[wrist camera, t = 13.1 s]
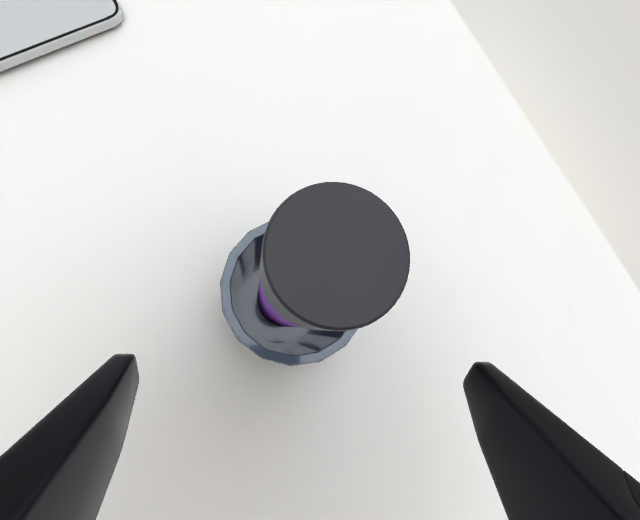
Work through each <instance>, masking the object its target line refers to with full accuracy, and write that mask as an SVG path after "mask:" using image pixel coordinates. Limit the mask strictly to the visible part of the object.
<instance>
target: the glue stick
mask: <svg viewBox="0 0 640 520" xmlns="http://www.w3.org/2000/svg"><path fill="white" fill-rule="evenodd" d="M409 267H410V251H409V245H408V241H407V237H406V234H405V231H404V229H403V227H402V225H401V223H400V221H399V219H398V218H397V216H396V215H395V214H394V212H393V211H392V210H391V209H390V207H389V206H388V205H387V204H386V203H385V202H383V201H382V200H381V199H380V198H379V197H377V196H376V195H374V194H373V193H371V192H369V191H367V190H365V189H363V188H361V187H358V186H355V185H352V184H347V183H340V182H325V183H319V184H314V185H311V186H308V187H305V188H303V189H301V190H299V191H297V192H295V193H294V194H292V195H291V196H289V197H288V198H287V199H286V200H285V201H284V202H283V203H282V204H281V205H280V206H279V207H278V208H277V209H276V211H275V212H274V214H273V215H272V217H271V219H270V221H269V223H268V225H267V228H266V231H265V234H264V238H263V244H262V252H261V260H260V281H259V288H258V295H257V301H258V306H259V309H260V311H261V313H262V314H263V316H264V317H265V318H266V319H267V320H268V321H269V322H271V323H273V324H275V325H278V326H282V327H303V328H307V329H313V330H327V331H348V330H354V329H358V328H362V327H364V326H367V325H369V324H372V323H373V322H375V321H377V320H378V319H380V318H381V317H382V316H384V315H385V314H386V313H387V312H388V311H389V310H390V309H391V308H392V307H393V306H394V305H395V303H396V302H397V300H398V299H399V298H400V296H401V294H402V292H403V290H404V287H405V285H406V282H407V278H408V274H409Z"/></svg>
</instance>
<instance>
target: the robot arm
mask: <svg viewBox="0 0 640 520" xmlns="http://www.w3.org/2000/svg"><path fill="white" fill-rule="evenodd" d="M138 384H139V373H138V368H137V362H136V358H135V356H134V355H133V354H116V355H114V356H112V357H111V358H110V359H109V360H108V361H107V362H106V363H104V364H103V365H102V366H101V367H100V368H99V369H98V370H97V371H95V372H94V373H93V374H92V375H91V376H90V377H89V378H88V379H87V380H85V381H84V382H83V383H82V384H81V385H80V386H79V387H78V388H76V389H75V390H74V391H73V392H72V393H71V394H70V395H69V396H67V397H66V398H65V399H64V400H63V401H62V402H61V403H60V404H59V405H57V406H56V407H55V408H54V409H53V410H52V411H51V412H50V413H48V414H47V415H46V416H45V417H44V418H43V419H42V420H41V421H39V422H38V423H37V424H36V425H35V426H34V427H33V428H32V429H31V430H29V431H28V432H27V433H26V434H25V435H24V436H23V437H22V438H20V439H19V440H18V441H17V442H16V443H15V444H14V445H13V446H12V447H10V448H9V449H8V450H7V451H6V452H5V453H4V454H3V455H1V456H0V520H96V517H97V515H98V512H99V509H100V507H101V504H102V501H103V499H104V496H105V493H106V491H107V488H108V485H109V483H110V480H111V477H112V475H113V472H114V469H115V467H116V464H117V461H118V459H119V456H120V453H121V450H122V447H123V443H124V439H125V436H126V432H127V428H128V424H129V420H130V416H131V412H132V408H133V404H134V400H135V396H136V392H137V389H138ZM463 387H464V391H465V395H466V399H467V402H468V406H469V409H470V413H471V417H472V420H473V424H474V427H475V431H476V434H477V437H478V441H479V444H480V446H481V449H482V452H483V454H484V457H485V460H486V462H487V465H488V467H489V470H490V473H491V475H492V478H493V480H494V483H495V486H496V488H497V491H498V493H499V496H500V499H501V501H502V504H503V506H504V509H505V512H506V514H507V517H508V519H509V520H640V483H639V482H638V481H637V480H635V479H634V478H633V477H632V476H630V475H629V474H628V473H627V472H625V471H622V469H621V468H620V467H619V466H618V465H617V464H615V463H614V462H613V461H612V460H611V459H609V458H608V457H607V456H606V455H604V454H603V453H602V452H601V451H599V450H598V449H597V448H596V447H594V446H593V445H592V444H591V443H589V442H588V441H587V440H586V439H584V438H583V437H582V436H581V435H579V434H578V433H577V432H576V431H575V430H573V429H572V428H571V427H570V426H568V425H567V424H566V423H565V422H563V421H562V420H561V419H560V418H558V417H557V416H556V415H555V414H553V413H552V412H551V411H550V410H548V409H547V408H546V407H545V406H544V405H542V404H541V403H540V402H539V401H537V400H536V399H535V398H534V397H532V396H531V395H530V394H529V393H527V392H526V391H525V390H524V389H522V388H521V387H520V386H519V385H517V384H516V383H515V382H514V381H513V380H511V379H510V378H509V377H508V376H506V375H505V374H504V373H503V372H501V371H500V370H499V369H498V368H496V367H495V366H494V365H493V364H491V363H489V362H475V363H474V364H473V365H472V367H471V369H470V370H469V372H468V374H467V375H466V377H465V379H464V382H463Z"/></svg>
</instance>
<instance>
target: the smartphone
mask: <svg viewBox="0 0 640 520" xmlns="http://www.w3.org/2000/svg"><path fill="white" fill-rule="evenodd" d="M122 19H123V12H122V9H121V6H120V4H119V2H118V0H0V72H1V71H4V70H6V69H9V68H11V67H14V66H16V65H19V64H21V63H24V62H27V61H29V60H32V59H34V58H37V57H39V56H42V55H44V54H47V53H49V52H52V51H55V50H57V49H60V48H62V47H65V46H67V45H70V44H72V43H75V42H77V41H80V40H82V39H85V38H88V37H90V36H93V35H95V34H98V33H100V32H103V31H105V30H108V29H110V28H113V27H115V26H117V25H118V24H120V23H121V21H122Z"/></svg>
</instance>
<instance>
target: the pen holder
mask: <svg viewBox="0 0 640 520" xmlns="http://www.w3.org/2000/svg"><path fill="white" fill-rule="evenodd" d="M268 223H269V222H267V223H265V224H263V225H261V226H259V227H257V228H255V229H253V230H251V231H250V232H248V233H247V234H246V235H245V237H244V238H243V239H242V240H241V241H240V242H239V243H238V244H237V246H236V247H235V248H234V249H233V250H232V251H231V252H230V254H229V257H228V260H227V263H226V266H225V269H224V272H223V275H222V278H221V282H220V286H221V299H222V311H223V314H224V316H225V317H226V319H227V321H228V323H229V325H230V327H231V329H232V331H233V332H234V334H235V336H236V338H237V339H238V340H239V341H240V342H241V343H243V344H244V345H245V346H246V347H248V348H249V349H250V350H251V351H253V352H254V353H255V354H256V355H258V356H259V357H260V358H262V359H266V360H269V361H273V362H277V363H281V364H285V365H289V366H295V365H301V364H308V363H314V362H320V361H322V360H324V359H325V358H327V357H329V356H330V355H332V354H333V353H335V352H337V351H338V350H340V349H341V348H343V347H345V345H347V343H348V342H349V340H350V339H351V338H352V336H353V335H354V333H355V332H356V331H357V329H354V330H348V331H327V330H313V329H307V328H303V327H282V326H278V325H275V324H273V323H271V322H269V321H268V320H267V319H266V318H265V317H264V316H263V314H262V313H261V311H260V309H259V306H258V301H257V295H258V288H259V281H260V260H261V252H262V244H263V238H264V234H265V231H266V228H267V225H268Z"/></svg>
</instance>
